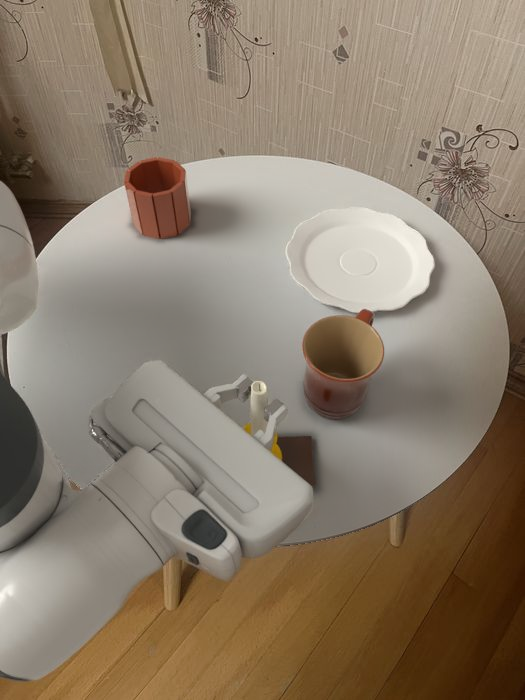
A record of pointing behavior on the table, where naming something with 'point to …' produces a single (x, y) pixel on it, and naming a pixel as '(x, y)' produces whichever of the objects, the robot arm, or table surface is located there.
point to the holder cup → (158, 197)
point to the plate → (360, 259)
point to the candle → (260, 414)
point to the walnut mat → (298, 456)
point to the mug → (340, 363)
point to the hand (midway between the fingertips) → (266, 393)
